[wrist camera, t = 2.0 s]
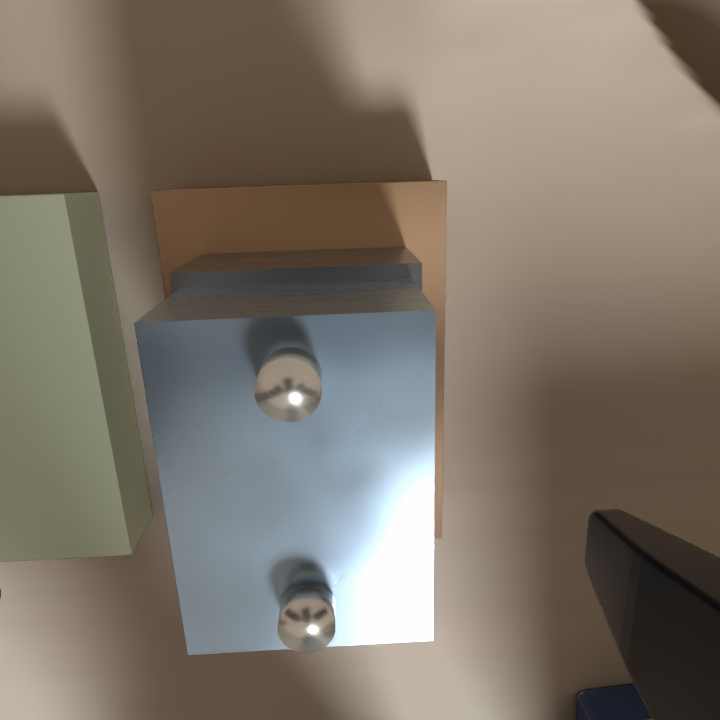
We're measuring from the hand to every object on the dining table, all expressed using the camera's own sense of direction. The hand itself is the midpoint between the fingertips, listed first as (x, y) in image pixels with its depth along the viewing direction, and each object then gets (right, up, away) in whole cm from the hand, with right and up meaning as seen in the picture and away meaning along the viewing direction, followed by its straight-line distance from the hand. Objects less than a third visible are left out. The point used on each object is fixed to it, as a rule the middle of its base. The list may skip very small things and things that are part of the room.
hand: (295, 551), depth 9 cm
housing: (0, +2, +6) cm, 7 cm away
